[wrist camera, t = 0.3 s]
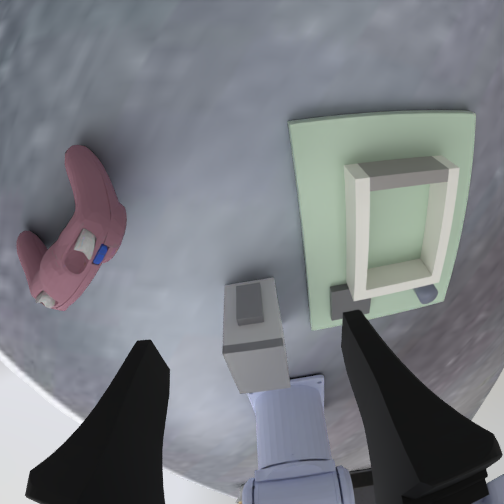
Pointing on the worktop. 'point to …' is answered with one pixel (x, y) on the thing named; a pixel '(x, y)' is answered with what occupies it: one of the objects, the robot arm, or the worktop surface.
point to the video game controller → (76, 236)
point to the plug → (254, 337)
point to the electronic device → (363, 486)
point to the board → (380, 208)
